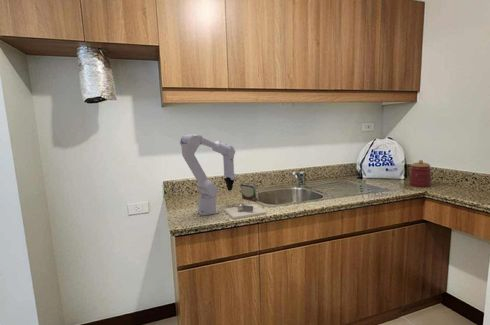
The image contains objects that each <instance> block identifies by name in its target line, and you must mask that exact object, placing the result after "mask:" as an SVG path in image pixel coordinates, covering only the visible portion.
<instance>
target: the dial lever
mask: <svg viewBox="0 0 490 325" xmlns="http://www.w3.org/2000/svg"><path fill="white" fill-rule="evenodd" d="M236 207H237V209H238V211H251V212H252V211H253V206H246V205H245V204H244V203H240V202H239V203H237V204H236Z"/></svg>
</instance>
